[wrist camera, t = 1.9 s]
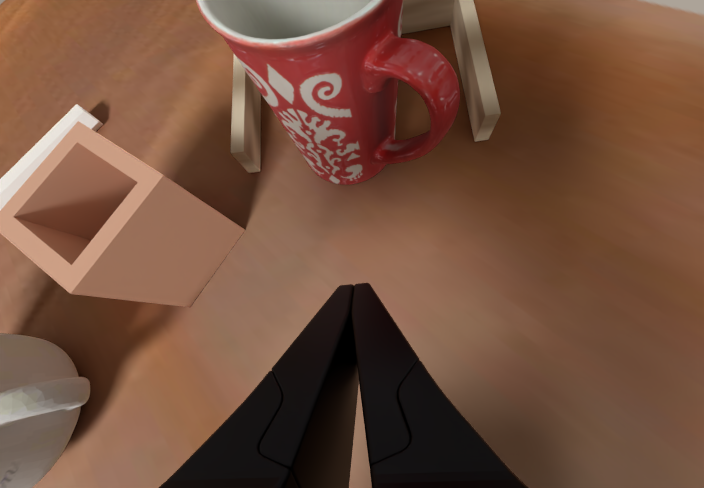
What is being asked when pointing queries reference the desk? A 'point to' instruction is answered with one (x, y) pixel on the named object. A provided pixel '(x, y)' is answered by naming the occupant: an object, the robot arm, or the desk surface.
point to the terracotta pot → (115, 225)
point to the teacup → (35, 407)
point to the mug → (338, 78)
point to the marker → (43, 151)
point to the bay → (418, 14)
